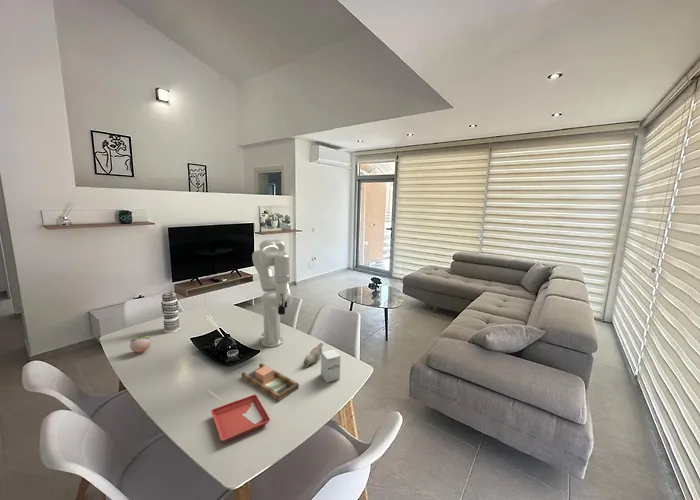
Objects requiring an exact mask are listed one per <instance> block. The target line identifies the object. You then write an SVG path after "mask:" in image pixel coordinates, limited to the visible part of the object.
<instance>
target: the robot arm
mask: <svg viewBox="0 0 700 500" xmlns="http://www.w3.org/2000/svg"><path fill="white" fill-rule="evenodd" d="M251 257H252V259H251V260H252V263H253V267H254V268H255V270H256V271H257V274H258V278H259V281H260V282H259V283H260V287H261V290H262V291H263V292H264V293H263V294H262V295H261V305H262V312H263V313H262V314H263V332H262V333H261V337H262V338H263V339H262V340H261V345H262V346H263V347H265V348H275V347H278V346H281V345H282V344H283V343H284V338H283V337H281V315H285V314H286V308H288V306H290V305H292V303H293V298H292V297H293V296H292V292H291V288H290V285H289V284H290V283H289V282H290V280H291V279H290V278H291V276H290V275H291V273H290V272H291V271H290V269H291V267H290V255H289V253H288V252H287V251H286V245H285V242H284V241H283V240H281V239H266V240H263V241H261V242H260V244H259V249H257V250H255V251H253V252H252V255H251ZM271 267H273V268H274V269H272V268H271Z"/></svg>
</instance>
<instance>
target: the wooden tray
mask: <svg viewBox="0 0 700 500" xmlns="http://www.w3.org/2000/svg"><path fill="white" fill-rule="evenodd" d="M264 366H267V367H269V366H268V365H266V364H264V363H263V362H261V363H259V368H257V369H255V370H253V371H252V372H250V373H246V372H245V371H243V372H242V373H241V378H242V379H243V380H245V381H246V382H248V383H249V384H250V385H252V386H253V387H256V388H257V389H259V390H260V391H262V392H263V393H265V394H267V395H268V396H270V397H271V398H273V399H274V400H276V401H278V402H281V401H283V400H284V399H285V398H287V397H289V396H290V395H291V394H292V393H295V392H296V391H298V389H299V387H300V385H299V382H296V381H294V380H293V379H291V378H289V377H288V376H285V374H284V375H283V374H282V373H280V372H278V371H277V370H275V369H273V370H274V380H272V381H270V382H269V383H267V384H265V385H264V384H262V383H261V382H259V381H258V380H256V379H255V371H256V370H258V369H260V368H262V367H264Z"/></svg>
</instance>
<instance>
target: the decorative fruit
mask: <svg viewBox="0 0 700 500" xmlns="http://www.w3.org/2000/svg"><path fill="white" fill-rule="evenodd" d="M138 336H139V337H138ZM138 336H137V337H133V338H132V339H130V340H129V342H130V345H129V346H130V350H132V352H134V353H140V352H142V353H144V352H145V351H147V350H148V349H149V347H150V346H151V340H150V339H151V337H150V336H148V335H146V336H145V335H144V336H141V335H138Z"/></svg>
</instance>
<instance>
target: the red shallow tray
mask: <svg viewBox="0 0 700 500" xmlns="http://www.w3.org/2000/svg"><path fill="white" fill-rule="evenodd" d="M252 403H253V404H254V406H255V408H256V410H257V411H258V413H259V415H260V416H261V418H262V419H261V420H260V421H258V422H256V423H254V422H252V421H251V420H249V419H248V418H247V417H246V416H245V414H247V412H248V411H249V410H250V408H251V407H252ZM210 412H211V415H212V418H213V421H214V423H215V424H214V425H215V427H216V430H217V433H218V436H219V440H220V441H222V442H224V443H225V442H230V441H232V440H234V439H236V438H238V437H241V436H244V435H246V434H248V433H251V432H252V431H255V430H257V429H260V428H262V427H264V426H266V425H268V423H269V422H270V421H271V418H270V416H269V415H268V414H269V413H267V411H266V409H265V408H264V406H263V404H262V402H261V400H260V399H259V397H258V395H257V394H252V395H249V396H246V397H243V398H241V399H238V400H235V401H232V402H230V403H227V404H223V405H220V406H218V407H216V408H212V409H211V411H210Z"/></svg>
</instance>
